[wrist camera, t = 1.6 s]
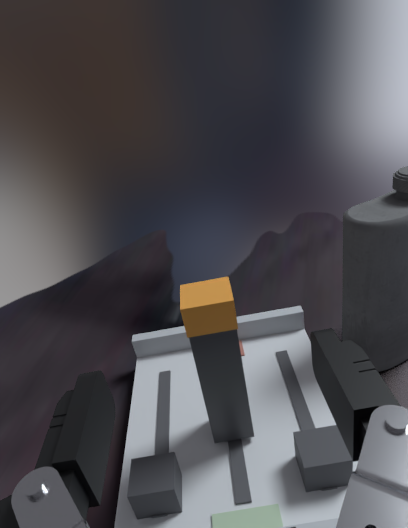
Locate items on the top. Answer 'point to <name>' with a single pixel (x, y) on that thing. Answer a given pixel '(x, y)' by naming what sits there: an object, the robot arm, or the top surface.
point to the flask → (377, 275)
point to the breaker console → (235, 451)
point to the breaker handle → (217, 356)
